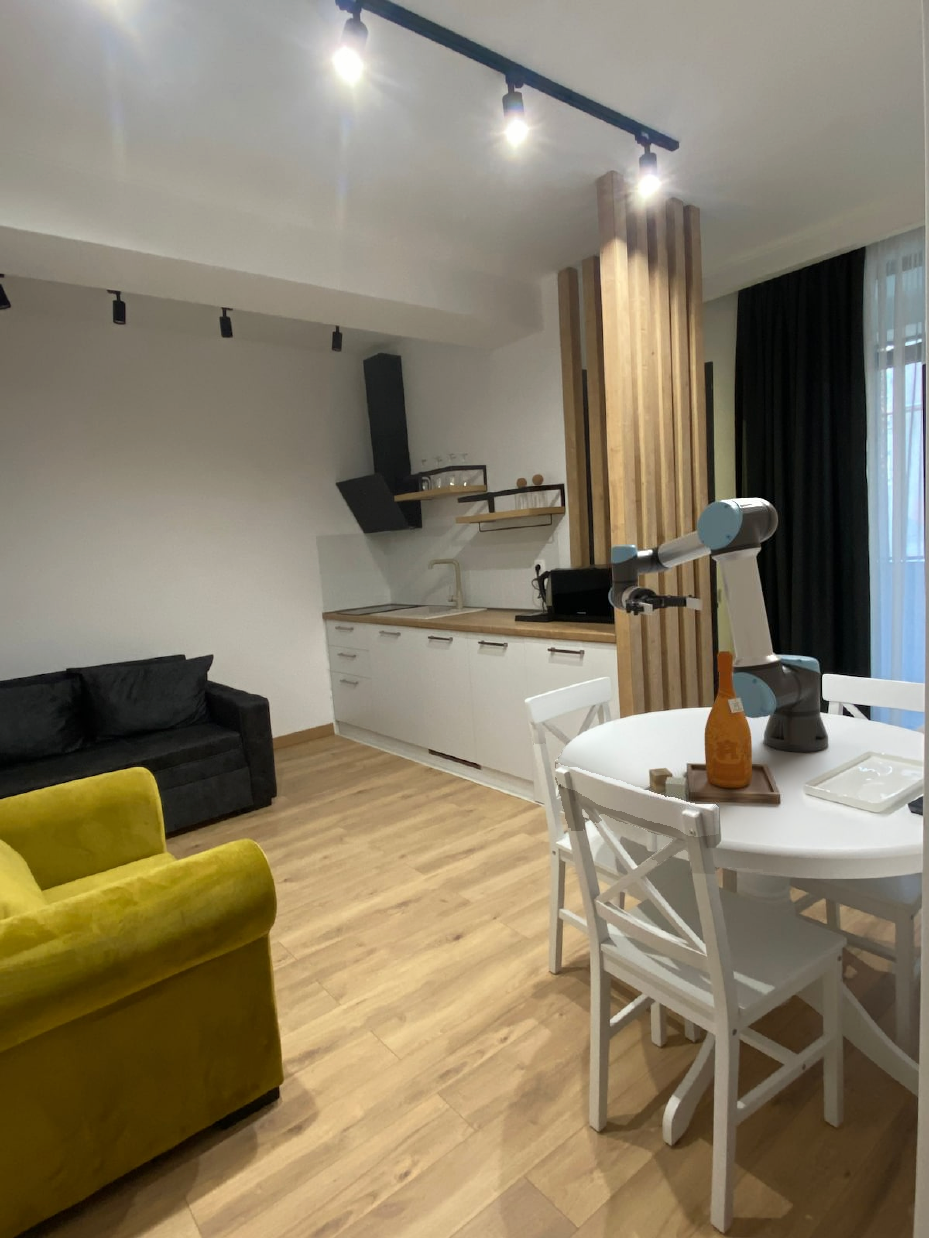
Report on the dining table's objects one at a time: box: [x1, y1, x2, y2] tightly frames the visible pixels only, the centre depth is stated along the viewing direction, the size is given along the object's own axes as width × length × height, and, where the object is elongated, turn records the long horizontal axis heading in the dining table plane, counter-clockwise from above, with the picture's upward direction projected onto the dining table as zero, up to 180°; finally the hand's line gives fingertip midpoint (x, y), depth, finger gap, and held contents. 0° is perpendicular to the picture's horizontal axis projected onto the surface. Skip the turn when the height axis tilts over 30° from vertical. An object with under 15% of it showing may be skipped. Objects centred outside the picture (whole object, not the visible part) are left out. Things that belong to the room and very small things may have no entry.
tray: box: [685, 762, 782, 804], centre depth 155 cm, size 18×18×2 cm
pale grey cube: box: [665, 776, 688, 801], centre depth 151 cm, size 4×4×4 cm
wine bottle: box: [704, 650, 753, 788], centre depth 153 cm, size 10×10×30 cm
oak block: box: [648, 767, 674, 793], centre depth 157 cm, size 4×4×4 cm
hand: (676, 607), depth 176 cm, fingers open, 13 cm apart
